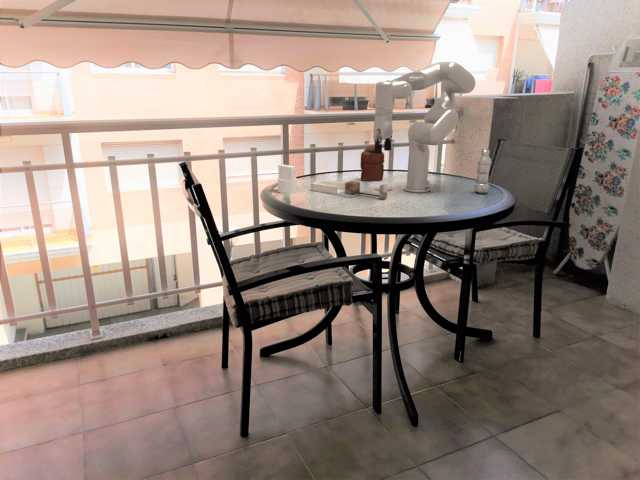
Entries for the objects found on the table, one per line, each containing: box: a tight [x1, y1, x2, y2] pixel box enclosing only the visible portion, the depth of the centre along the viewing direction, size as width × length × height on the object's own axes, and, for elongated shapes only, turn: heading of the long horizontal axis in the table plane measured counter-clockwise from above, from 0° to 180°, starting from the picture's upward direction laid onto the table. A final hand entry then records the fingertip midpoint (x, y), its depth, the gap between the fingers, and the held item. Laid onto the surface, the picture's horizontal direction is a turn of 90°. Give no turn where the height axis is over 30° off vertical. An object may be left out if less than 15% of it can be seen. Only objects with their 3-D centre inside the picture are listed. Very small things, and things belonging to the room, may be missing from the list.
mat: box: [335, 190, 366, 198], centre depth 218 cm, size 8×12×1 cm
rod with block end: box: [344, 180, 388, 200], centre depth 213 cm, size 20×5×6 cm, turn 55°
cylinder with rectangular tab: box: [277, 164, 298, 195], centre depth 221 cm, size 9×9×12 cm
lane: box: [310, 179, 345, 195], centre depth 224 cm, size 14×10×4 cm
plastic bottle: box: [473, 149, 492, 194], centre depth 219 cm, size 6×7×20 cm
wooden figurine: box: [359, 145, 385, 182], centre depth 246 cm, size 12×6×18 cm, turn 101°
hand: (383, 152), depth 209 cm, fingers open, 9 cm apart
